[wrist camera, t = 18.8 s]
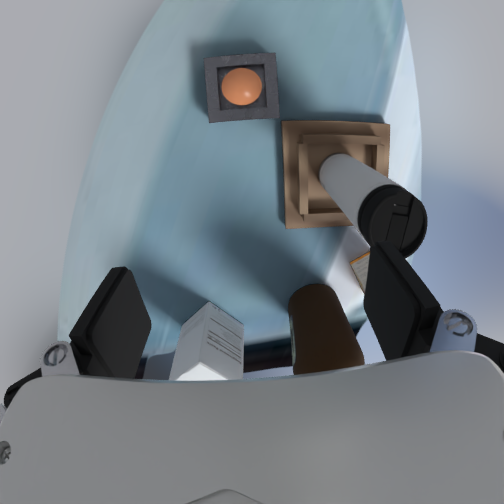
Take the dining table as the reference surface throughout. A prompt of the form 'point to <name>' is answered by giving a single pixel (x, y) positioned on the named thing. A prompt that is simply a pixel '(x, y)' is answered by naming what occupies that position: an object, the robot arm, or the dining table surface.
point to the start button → (241, 86)
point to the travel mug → (374, 203)
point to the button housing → (228, 111)
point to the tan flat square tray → (311, 156)
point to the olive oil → (321, 332)
